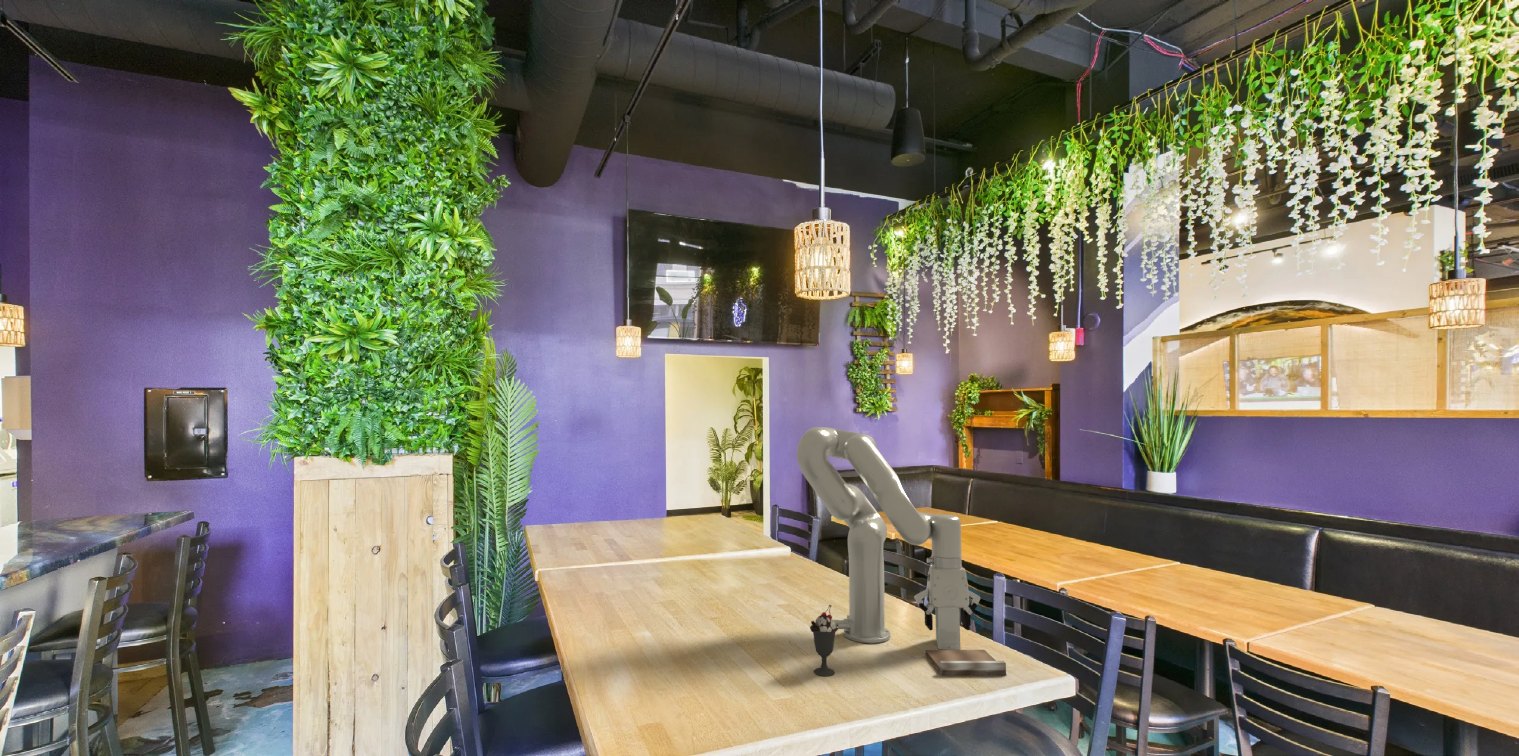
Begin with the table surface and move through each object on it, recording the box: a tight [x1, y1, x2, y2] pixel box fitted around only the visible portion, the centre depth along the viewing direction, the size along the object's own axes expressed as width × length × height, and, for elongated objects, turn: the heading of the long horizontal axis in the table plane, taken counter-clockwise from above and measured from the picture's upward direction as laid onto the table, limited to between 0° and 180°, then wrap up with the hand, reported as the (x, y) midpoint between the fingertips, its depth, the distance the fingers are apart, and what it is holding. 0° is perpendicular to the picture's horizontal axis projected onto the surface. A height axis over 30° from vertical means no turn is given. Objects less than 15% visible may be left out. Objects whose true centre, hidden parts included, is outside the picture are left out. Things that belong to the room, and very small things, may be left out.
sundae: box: [809, 604, 839, 677], centre depth 145 cm, size 7×7×15 cm
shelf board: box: [924, 649, 1007, 676], centre depth 150 cm, size 15×13×3 cm
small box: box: [934, 607, 961, 650], centre depth 164 cm, size 8×6×10 cm
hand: (947, 628), depth 164 cm, fingers open, 9 cm apart
